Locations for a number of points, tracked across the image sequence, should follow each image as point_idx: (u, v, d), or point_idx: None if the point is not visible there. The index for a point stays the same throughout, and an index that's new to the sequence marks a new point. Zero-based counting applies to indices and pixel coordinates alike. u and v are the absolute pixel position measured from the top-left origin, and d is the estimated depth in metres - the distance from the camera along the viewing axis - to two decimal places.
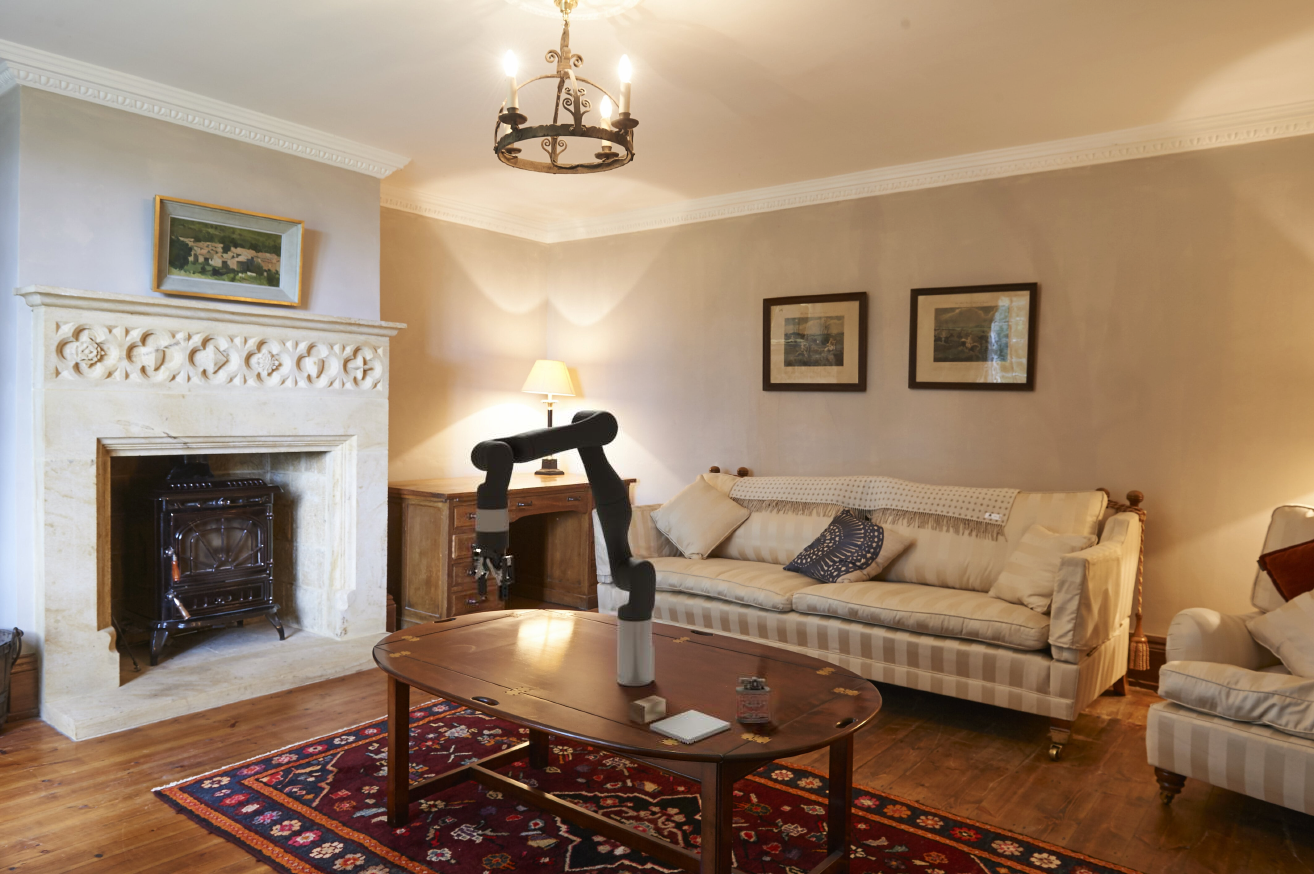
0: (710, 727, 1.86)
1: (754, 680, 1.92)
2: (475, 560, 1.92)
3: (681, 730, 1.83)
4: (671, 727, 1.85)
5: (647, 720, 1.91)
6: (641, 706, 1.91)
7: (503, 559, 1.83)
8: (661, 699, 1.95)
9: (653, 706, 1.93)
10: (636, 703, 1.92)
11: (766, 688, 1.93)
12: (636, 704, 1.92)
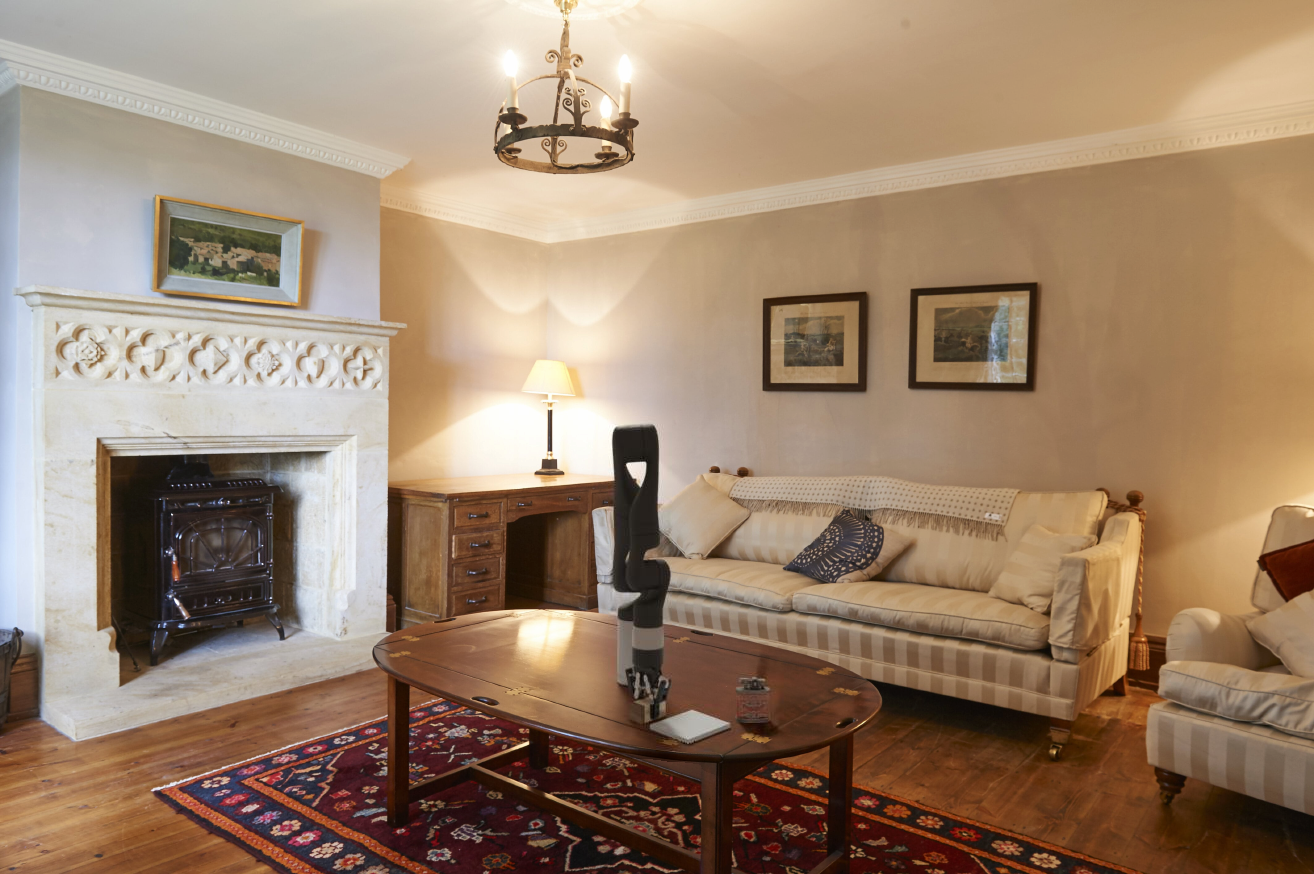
0: (710, 727, 1.86)
1: (754, 680, 1.92)
2: (630, 677, 1.97)
3: (681, 730, 1.83)
4: (671, 727, 1.85)
5: (647, 720, 1.91)
6: (641, 706, 1.90)
7: (662, 683, 1.89)
8: None
9: None
10: (636, 703, 1.92)
11: (766, 688, 1.93)
12: (636, 704, 1.92)
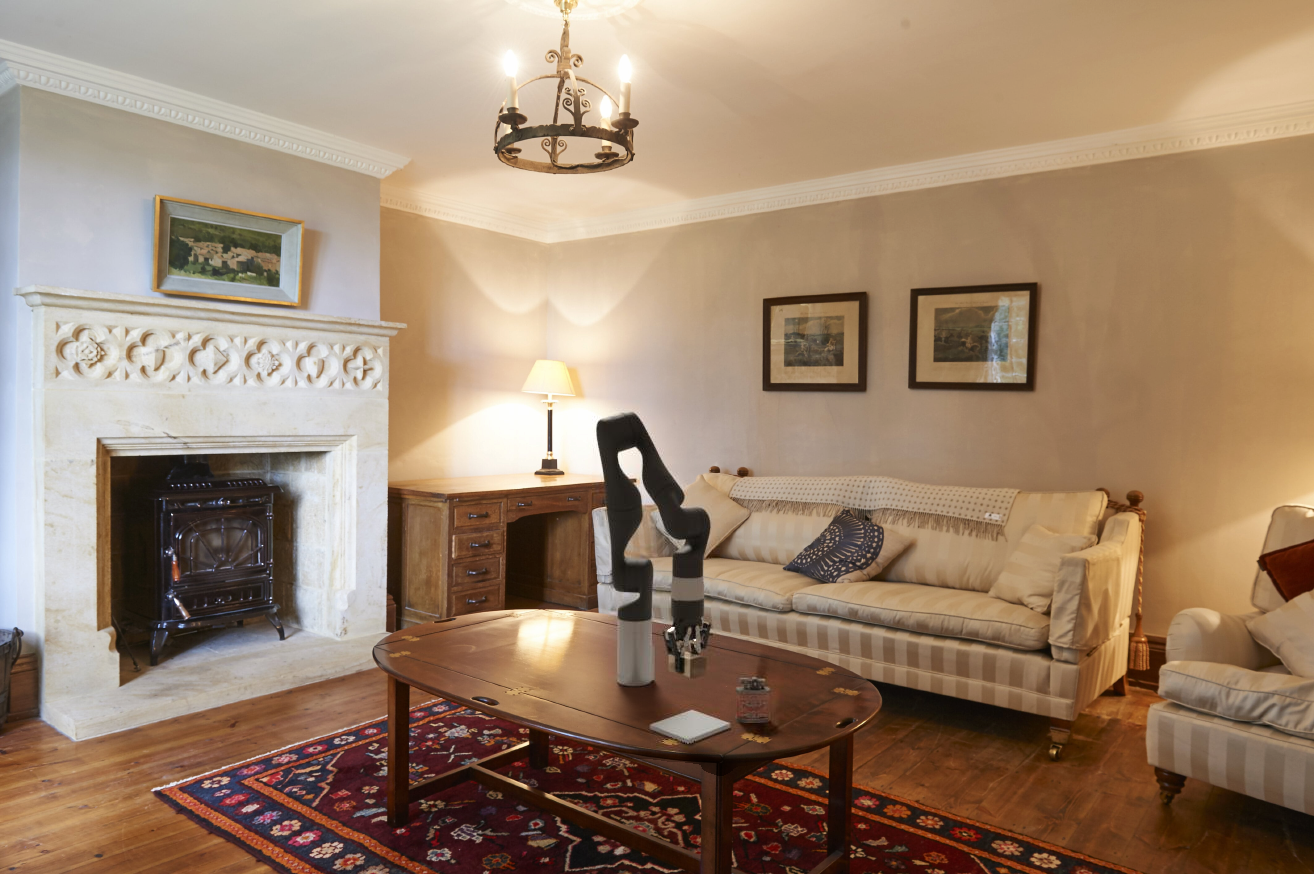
0: (710, 727, 1.86)
1: (754, 680, 1.92)
2: None
3: (681, 730, 1.83)
4: (671, 727, 1.85)
5: None
6: None
7: (710, 625, 1.90)
8: None
9: None
10: (696, 658, 1.84)
11: (766, 688, 1.93)
12: (697, 658, 1.84)
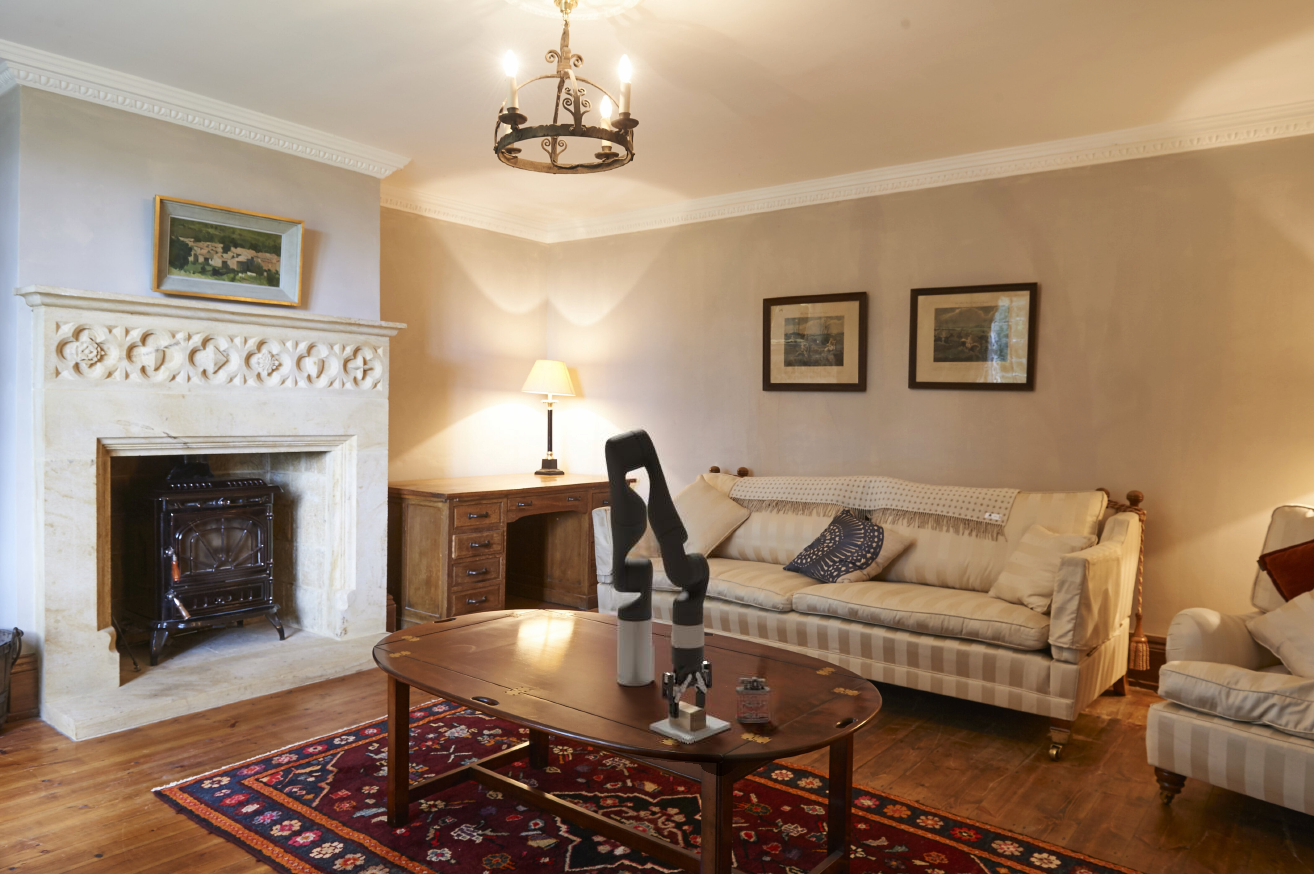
0: (710, 727, 1.86)
1: (754, 680, 1.92)
2: None
3: (681, 730, 1.83)
4: (671, 727, 1.85)
5: None
6: (703, 709, 1.85)
7: (710, 665, 1.90)
8: (681, 702, 1.90)
9: None
10: (696, 711, 1.84)
11: (766, 688, 1.93)
12: (697, 711, 1.84)
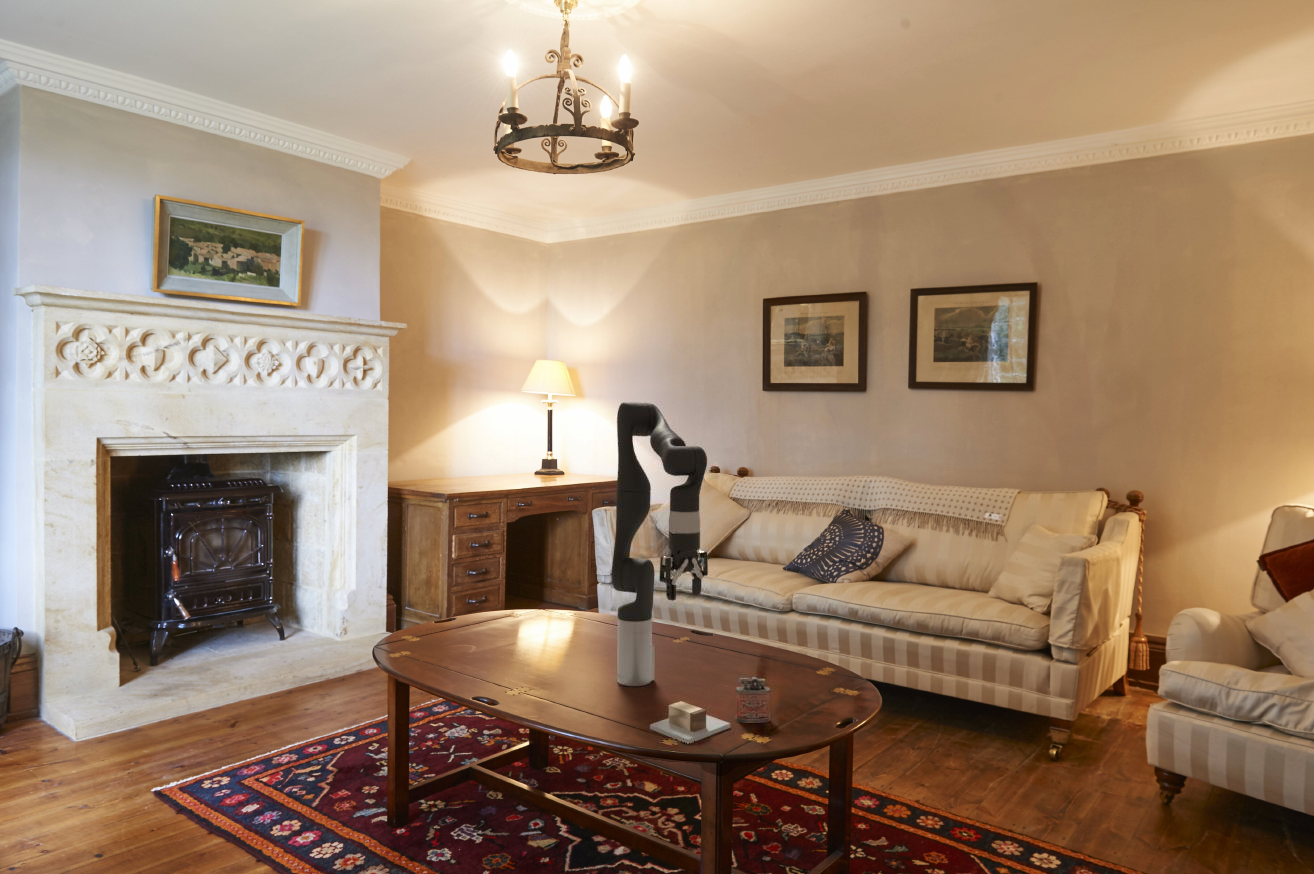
0: (710, 727, 1.86)
1: (754, 680, 1.92)
2: None
3: (681, 730, 1.83)
4: (671, 727, 1.85)
5: None
6: (703, 709, 1.85)
7: (706, 553, 2.00)
8: (681, 702, 1.90)
9: None
10: (696, 711, 1.84)
11: (766, 688, 1.93)
12: (697, 711, 1.84)
